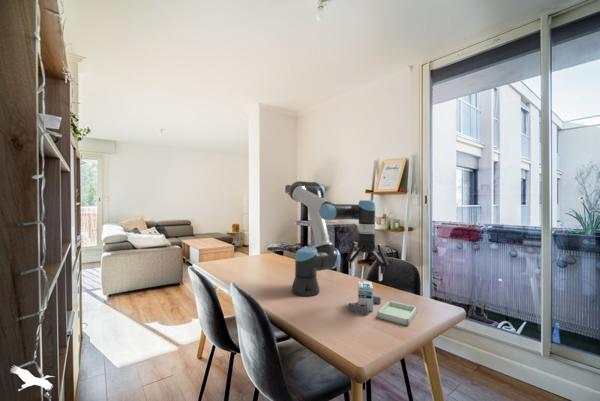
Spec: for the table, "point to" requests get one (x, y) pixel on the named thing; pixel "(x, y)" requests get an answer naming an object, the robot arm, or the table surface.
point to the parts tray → (397, 312)
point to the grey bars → (361, 308)
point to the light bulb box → (365, 294)
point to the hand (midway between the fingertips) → (366, 278)
